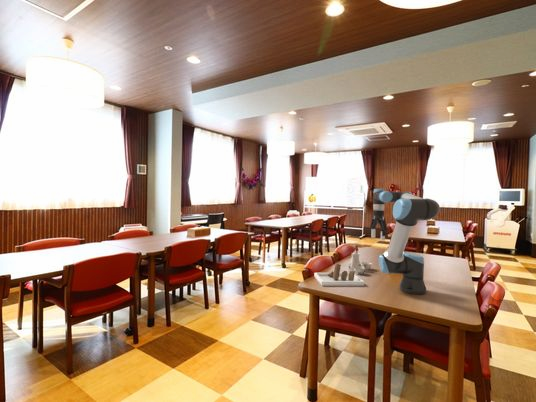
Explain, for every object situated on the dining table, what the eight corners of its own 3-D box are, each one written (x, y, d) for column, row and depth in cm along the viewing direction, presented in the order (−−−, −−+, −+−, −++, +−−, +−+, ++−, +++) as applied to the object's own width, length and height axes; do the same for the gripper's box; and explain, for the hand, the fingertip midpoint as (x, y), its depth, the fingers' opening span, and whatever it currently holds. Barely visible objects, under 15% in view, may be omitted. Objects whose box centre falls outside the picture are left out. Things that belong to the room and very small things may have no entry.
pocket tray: (364, 286, 179) (364, 281, 179) (321, 286, 177) (321, 281, 177) (352, 276, 200) (352, 272, 199) (314, 276, 198) (314, 272, 198)
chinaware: (364, 279, 200) (367, 257, 199) (342, 272, 209) (345, 251, 208) (372, 270, 224) (375, 251, 223) (352, 265, 233) (355, 246, 232)
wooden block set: (353, 284, 187) (355, 269, 190) (351, 282, 180) (353, 266, 183) (328, 278, 196) (330, 264, 199) (324, 276, 189) (327, 261, 192)
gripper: (365, 209, 210) (365, 236, 210) (382, 210, 185) (381, 241, 186) (375, 209, 211) (374, 236, 211) (393, 211, 186) (392, 241, 186)
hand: (377, 239), depth 198 cm, fingers open, 13 cm apart
